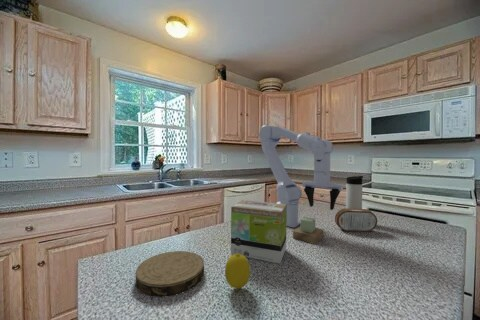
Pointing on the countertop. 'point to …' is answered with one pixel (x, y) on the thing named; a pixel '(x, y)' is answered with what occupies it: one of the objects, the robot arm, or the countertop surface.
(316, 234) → the walnut block
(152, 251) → the countertop surface
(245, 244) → the tea box
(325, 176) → the robot arm
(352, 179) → the travel mug
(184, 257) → the wooden coaster disc
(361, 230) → the tin
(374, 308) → the countertop surface
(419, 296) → the countertop surface
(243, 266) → the lemon
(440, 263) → the countertop surface
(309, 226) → the sage cube
